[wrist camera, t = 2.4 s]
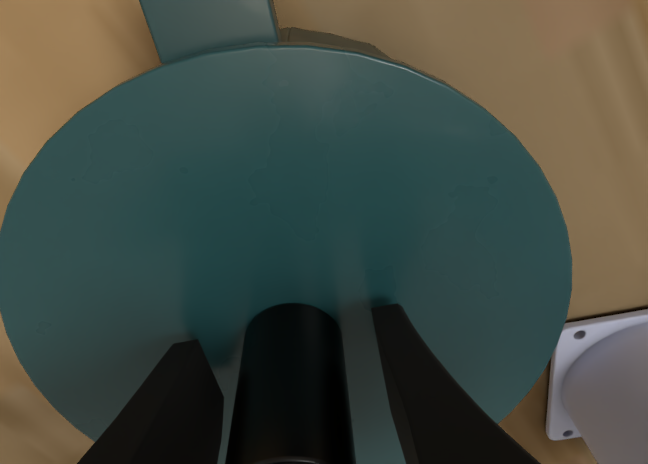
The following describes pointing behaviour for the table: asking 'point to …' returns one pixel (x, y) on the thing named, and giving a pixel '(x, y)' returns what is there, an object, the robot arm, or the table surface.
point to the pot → (225, 27)
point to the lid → (282, 246)
